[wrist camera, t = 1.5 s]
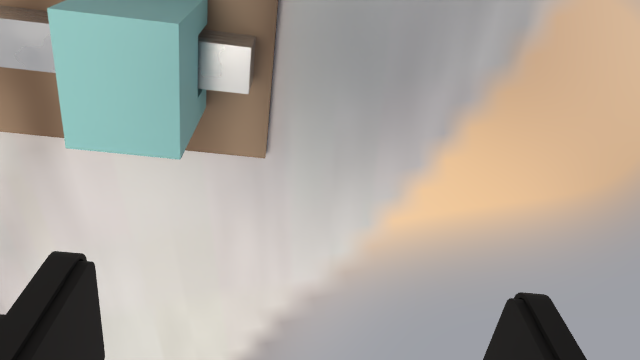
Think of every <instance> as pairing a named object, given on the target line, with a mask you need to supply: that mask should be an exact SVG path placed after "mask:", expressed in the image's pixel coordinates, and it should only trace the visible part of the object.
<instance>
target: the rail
mask: <svg viewBox="0 0 640 360" xmlns="http://www.w3.org/2000/svg"><path fill="white" fill-rule="evenodd" d="M255 40H256V36H253V35H244V34H236V33H227V32H219V31H211V30H202V31H201V32H200V33H199V35H198V89H205V90H214V91H223V92H232V93H241V94H249V91H250V88H251V85H252V81H253V73H254V56H255ZM0 67H6V68H15V69H24V70H33V71H42V72H51V73H56V72H55V64H54V57H53V50H52V42H51V35H50V27H49V20H48V12H47V11H43V10H34V9H26V8H17V7H9V6H1V5H0Z"/></svg>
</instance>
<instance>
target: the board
mask: <svg viewBox="0 0 640 360" xmlns="http://www.w3.org/2000/svg"><path fill="white" fill-rule="evenodd" d="M63 1H65V0H0V5H1V6H9V7H17V8H26V9H34V10H43V11H47V8H49V7H51V6H53V5H56V4H58V3H60V2H63ZM277 9H278V0H208V8H207V25H206V26H205V27H204V28H203V30H211V31H219V32H227V33H236V34H244V35H253V36H256V40H255V56H254V73H253V81H252V85H251V88H250V91H249V94H241V93H232V92H223V91H214V90H206V108H205V110H204V112H203V114H202V116H201V118H200V120H199V122H198V124H197V127H196V129H195V131H194V133H193V135H192V137H191V139H190V141H189V143H188V145H187V147H186V149H185V150H188V151H198V152H208V153H218V154H227V155H237V156H247V157H257V158H265V156H266V148H267V135H268V122H269V110H270V97H271V85H272V72H273V59H274V47H275V34H276V21H277ZM0 132H10V133H20V134H30V135H40V136H49V137H59V138H64V132H63V124H62V117H61V109H60V102H59V94H58V87H57V79H56V73H51V72H42V71H33V70H24V69H15V68H6V67H0Z"/></svg>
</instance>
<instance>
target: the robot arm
mask: <svg viewBox="0 0 640 360" xmlns="http://www.w3.org/2000/svg"><path fill="white" fill-rule="evenodd" d="M104 358H105V351H104V342H103V333H102V324H101V315H100V306H99V297H98V288H97V279H96V270H95V264H94V263H93V262H89V261H87V260H86V256H85V255H84V254H81V253H69V252H58V251H54V252H52V253H51V254H50V255H49V256H48V257H47V259H46V260H45V262H44V263H43V264H42V266H41V267H40V268H39V270H38V271H37V273H36V274H35V275H34V277H33V278H32V279H31V281H30V282H29V284H28V285H27V286H26V288H25V289H24V290H23V292H22V293H21V295H20V296H19V297H18V299H17V300H16V302H15V303H14V304H13V306H12V307H11V308H10V310H9V311H8V313H7V314H6V315H0V360H104ZM483 360H587V359H586V358H585V356H584V354H583V353H582V351H581V349H580V348H579V346H578V345H577V343H576V341H575V339H574V337H573V336H572V334H571V332H570V331H569V329H568V327H567V326H566V324H565V322H564V321H563V319H562V317H561V316H560V314H559V312H558V311H557V309H556V307H555V306H554V304H553V302H552V301H551V299H550V298H549V297H548V296H547V295H544V294H533V293H518V294H516V296H515V297H514V299H512V298H511V299H509V300H507V302H506V304H505V307H504V309H503V312H502V314H501V317H500V319H499V322H498V324H497V327H496V329H495V331H494V334H493V336H492V339H491V341H490V344H489V346H488V349H487V351H486V354H485V356H484V359H483Z"/></svg>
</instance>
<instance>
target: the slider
mask: <svg viewBox="0 0 640 360" xmlns="http://www.w3.org/2000/svg"><path fill="white" fill-rule="evenodd" d="M207 8H208V0H65V1H63V2H60V3H58V4H56V5H53V6H51V7H49V8H47V12H48V20H49V27H50V35H51V42H52V50H53V57H54V64H55V72H56V79H57V87H58V94H59V102H60V109H61V117H62V124H63V132H64V139H65V146H66V148H70V149H80V150H90V151H100V152H110V153H120V154H130V155H140V156H150V157H160V158H170V159H181V157H182V155H183V153H184V151H185V149H186V147H187V145H188V143H189V141H190V139H191V137H192V135H193V133H194V131H195V129H196V127H197V124H198V122H199V120H200V118H201V116H202V114H203V112H204V110H205V108H206V90H205V89H198V35H199V33H200V32H201V31H202V30H203V28H204V27H205V26H206V25H207Z"/></svg>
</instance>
